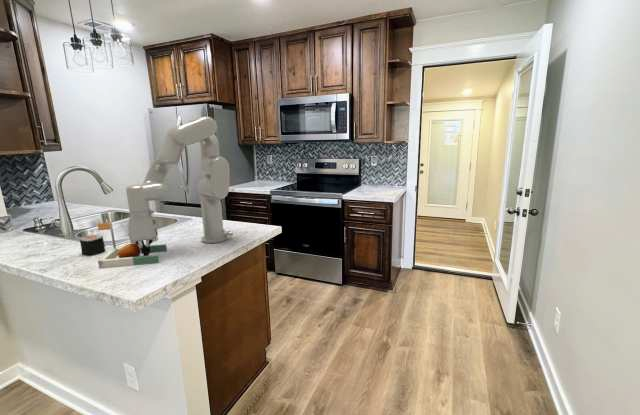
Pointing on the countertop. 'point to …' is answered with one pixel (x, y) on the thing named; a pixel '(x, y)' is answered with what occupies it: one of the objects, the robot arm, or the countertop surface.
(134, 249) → the fruit
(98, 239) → the sushi
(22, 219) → the countertop surface
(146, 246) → the robot arm
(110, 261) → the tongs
